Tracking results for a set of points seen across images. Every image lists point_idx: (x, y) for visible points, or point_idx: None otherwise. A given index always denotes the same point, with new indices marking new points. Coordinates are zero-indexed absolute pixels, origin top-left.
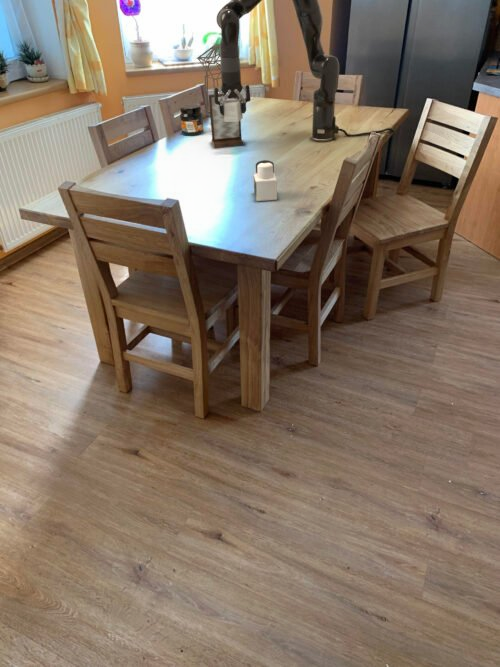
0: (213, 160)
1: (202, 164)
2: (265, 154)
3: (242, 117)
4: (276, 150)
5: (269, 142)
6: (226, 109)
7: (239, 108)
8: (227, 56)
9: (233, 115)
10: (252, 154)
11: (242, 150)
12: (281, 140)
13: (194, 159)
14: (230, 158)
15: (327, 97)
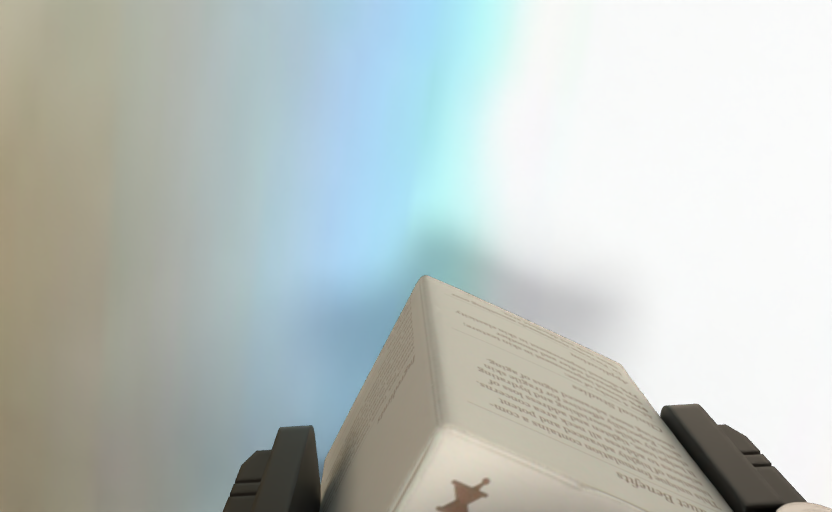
0: (671, 125)
1: (793, 35)
2: (175, 166)
3: (329, 453)
4: (65, 253)
5: (117, 478)
6: (650, 449)
7: (373, 450)
8: None
9: (503, 340)
10: (295, 199)
11: (371, 333)
12: (10, 503)
13: (826, 202)
14: (510, 140)
15: None
